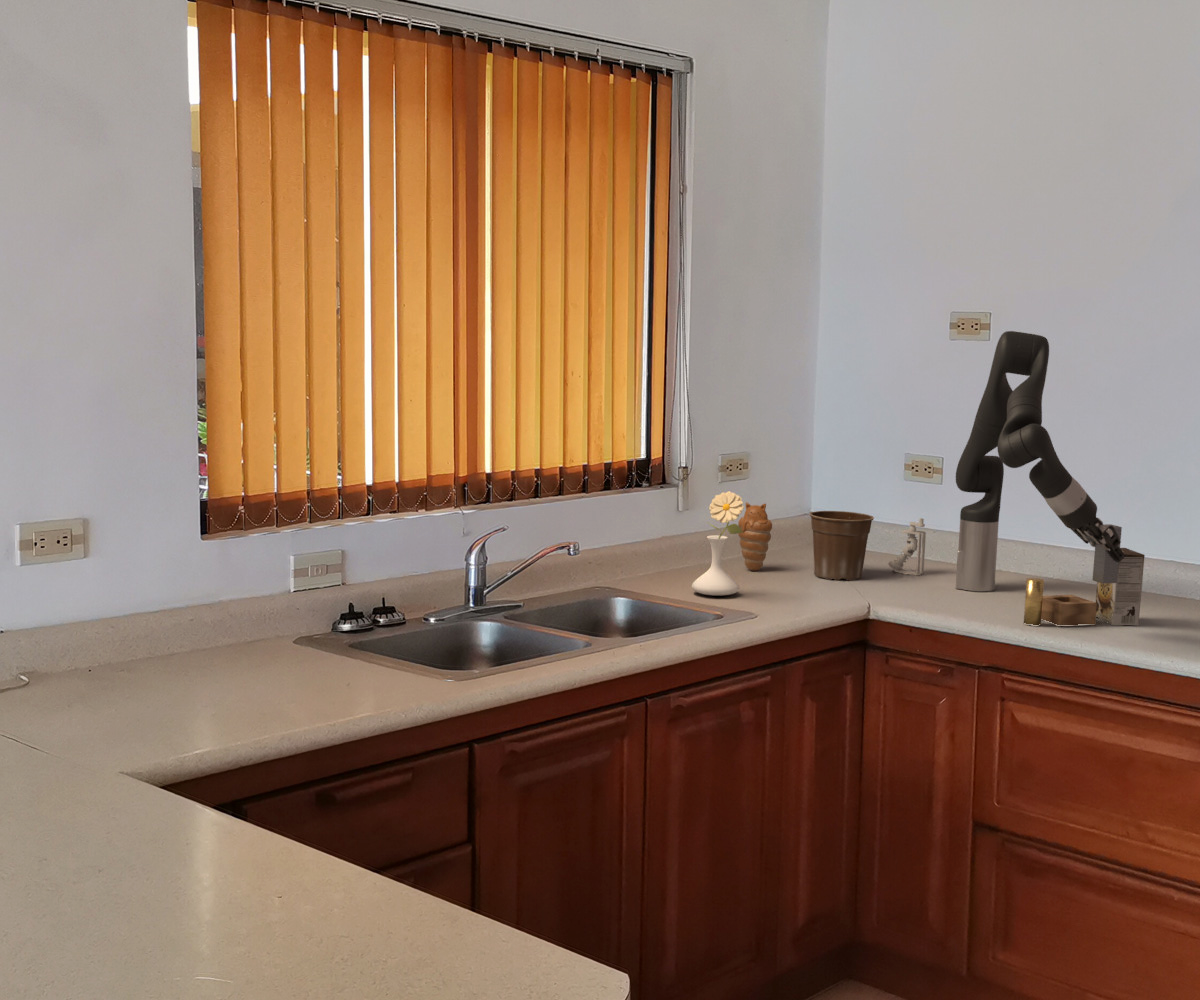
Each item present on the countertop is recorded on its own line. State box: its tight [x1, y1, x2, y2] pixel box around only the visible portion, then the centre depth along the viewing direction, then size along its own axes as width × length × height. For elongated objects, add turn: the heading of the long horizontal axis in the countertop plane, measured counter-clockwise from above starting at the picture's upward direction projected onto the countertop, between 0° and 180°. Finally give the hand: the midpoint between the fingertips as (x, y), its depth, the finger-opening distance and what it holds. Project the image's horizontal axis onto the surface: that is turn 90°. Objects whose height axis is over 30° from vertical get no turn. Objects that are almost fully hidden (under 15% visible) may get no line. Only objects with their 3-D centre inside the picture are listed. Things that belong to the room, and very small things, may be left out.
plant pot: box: [809, 510, 875, 581], centre depth 339 cm, size 16×16×16 cm
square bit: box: [1092, 523, 1123, 584], centre depth 278 cm, size 4×4×12 cm
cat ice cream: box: [737, 502, 773, 572], centre depth 344 cm, size 9×8×18 cm
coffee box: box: [1095, 547, 1146, 626], centre depth 293 cm, size 9×6×16 cm
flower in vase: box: [691, 490, 745, 597], centre depth 311 cm, size 13×11×25 cm
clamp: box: [887, 517, 927, 576], centre depth 347 cm, size 4×10×15 cm, turn 54°
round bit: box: [1023, 577, 1045, 625], centre depth 288 cm, size 4×4×10 cm
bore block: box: [1041, 594, 1097, 625], centre depth 292 cm, size 9×9×5 cm
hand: (1114, 557), depth 279 cm, fingers closed on square bit, 3 cm apart
